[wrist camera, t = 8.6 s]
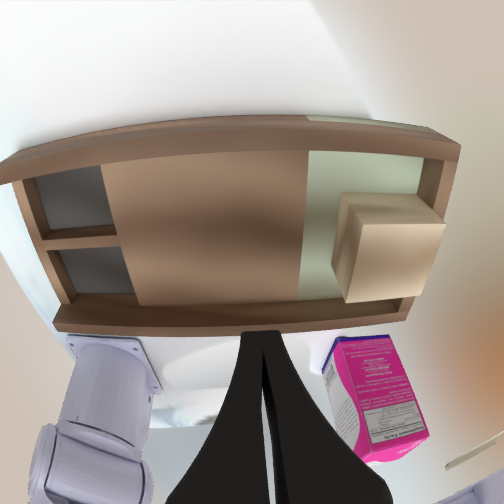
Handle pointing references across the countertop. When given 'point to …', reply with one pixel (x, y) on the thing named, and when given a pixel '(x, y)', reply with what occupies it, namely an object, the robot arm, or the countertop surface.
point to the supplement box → (372, 399)
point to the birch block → (384, 245)
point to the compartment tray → (215, 220)
